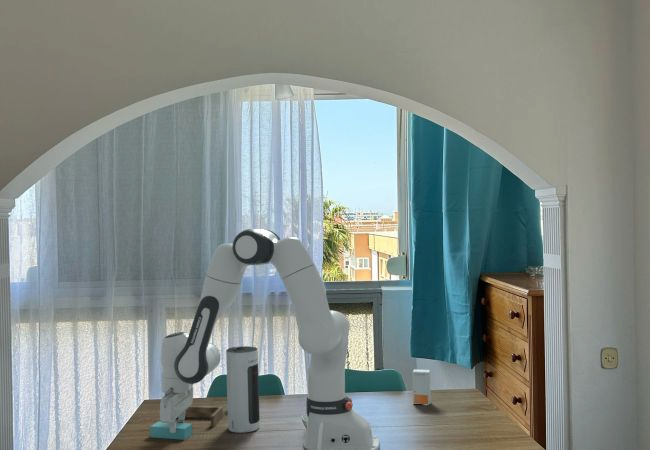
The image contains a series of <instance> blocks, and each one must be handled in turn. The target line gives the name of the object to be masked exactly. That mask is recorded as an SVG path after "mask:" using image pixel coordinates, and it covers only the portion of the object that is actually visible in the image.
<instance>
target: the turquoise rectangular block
mask: <svg viewBox="0 0 650 450" xmlns="http://www.w3.org/2000/svg"><path fill="white" fill-rule="evenodd" d="M175 423H176V426H177V431H176V432H175V433H171V432H170V427H169V424H168V423H161V421H157V422H155V423H153V424H152V425H150V426H149V433H150V434H149V435H150V436H149V437H150V438H156V439H172V440H181V441H182V440H184V441H186V440H187V439H189V438H190V437H191V436H193V435H194V434H193V427H194V426H193V423H187V422H186V423H185V422H184V423H177V422H175Z"/></svg>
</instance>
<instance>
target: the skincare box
mask: <svg viewBox="0 0 650 450" xmlns="http://www.w3.org/2000/svg"><path fill="white" fill-rule="evenodd" d="M431 391H432V390H431V370H430V369H416V368H414V369H413V371H412V404H413V403H415V404H416V403H417V404H430V405H431V403H430V402H432V400H431V399H432V397H431V394H432V393H431Z"/></svg>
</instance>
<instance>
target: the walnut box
mask: <svg viewBox="0 0 650 450" xmlns="http://www.w3.org/2000/svg"><path fill="white" fill-rule="evenodd" d="M185 418H203V419H204V418H210V427H211V428H214V427H216V426H217V425H218V423H219V422H220V421H221V420H222V419H223V418H224V406H208V405H207V406H206V405H205V406H198V405H197V406H196V405H195V406H194V405H191V406H190V407H189V408H188V409H187V410H186V414H185Z"/></svg>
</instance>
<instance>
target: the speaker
mask: <svg viewBox="0 0 650 450" xmlns="http://www.w3.org/2000/svg"><path fill="white" fill-rule="evenodd" d="M225 357H226V361H225V363H226V364H225V365H226V397H227V398H226V400H227V401H226V402H227V403H226V404H227V407H226V408H227V429H228V431H229V432H231V433H237V434H245V433H251V432H255V431H258V430H259V429H260V426H261V424H260V423H261V422H260V421H261V420H260V388H259V384H260V383H259V380H260V379H259V349H258V347H255V346H247V345H242V346H232V347H229V348H226V350H225Z"/></svg>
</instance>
